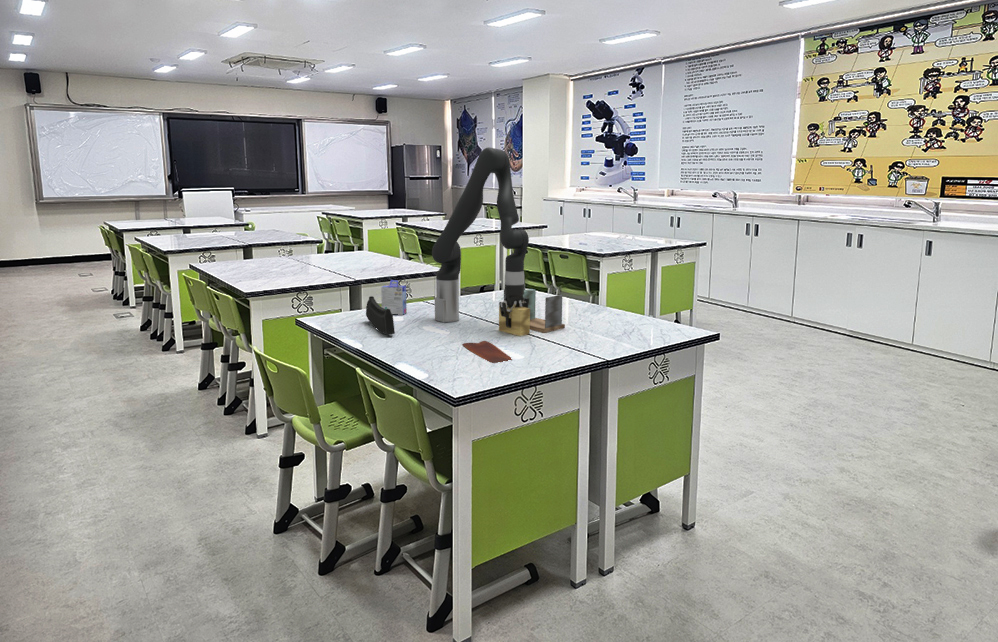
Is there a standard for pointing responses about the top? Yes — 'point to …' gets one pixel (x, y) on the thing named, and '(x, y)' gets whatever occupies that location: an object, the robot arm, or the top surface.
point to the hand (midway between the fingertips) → (514, 325)
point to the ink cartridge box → (394, 298)
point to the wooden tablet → (487, 351)
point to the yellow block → (516, 321)
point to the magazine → (380, 317)
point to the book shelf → (551, 312)
